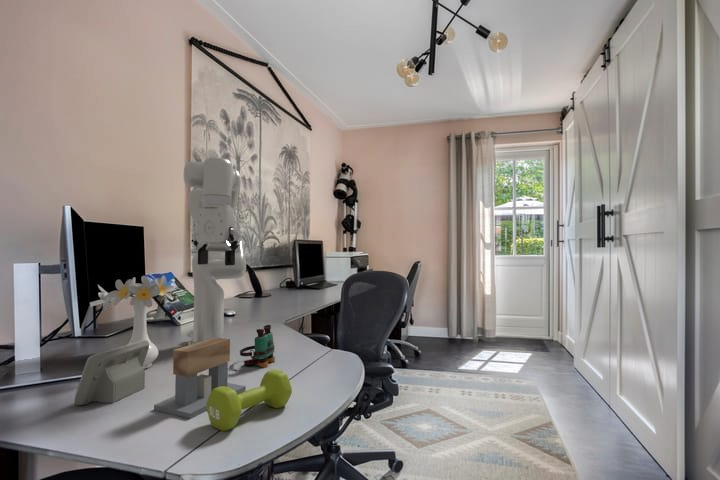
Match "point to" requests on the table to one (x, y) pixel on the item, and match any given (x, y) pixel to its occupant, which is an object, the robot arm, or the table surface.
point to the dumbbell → (247, 399)
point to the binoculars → (261, 348)
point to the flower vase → (139, 306)
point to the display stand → (196, 392)
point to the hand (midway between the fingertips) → (216, 264)
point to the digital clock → (113, 374)
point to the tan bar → (201, 356)
